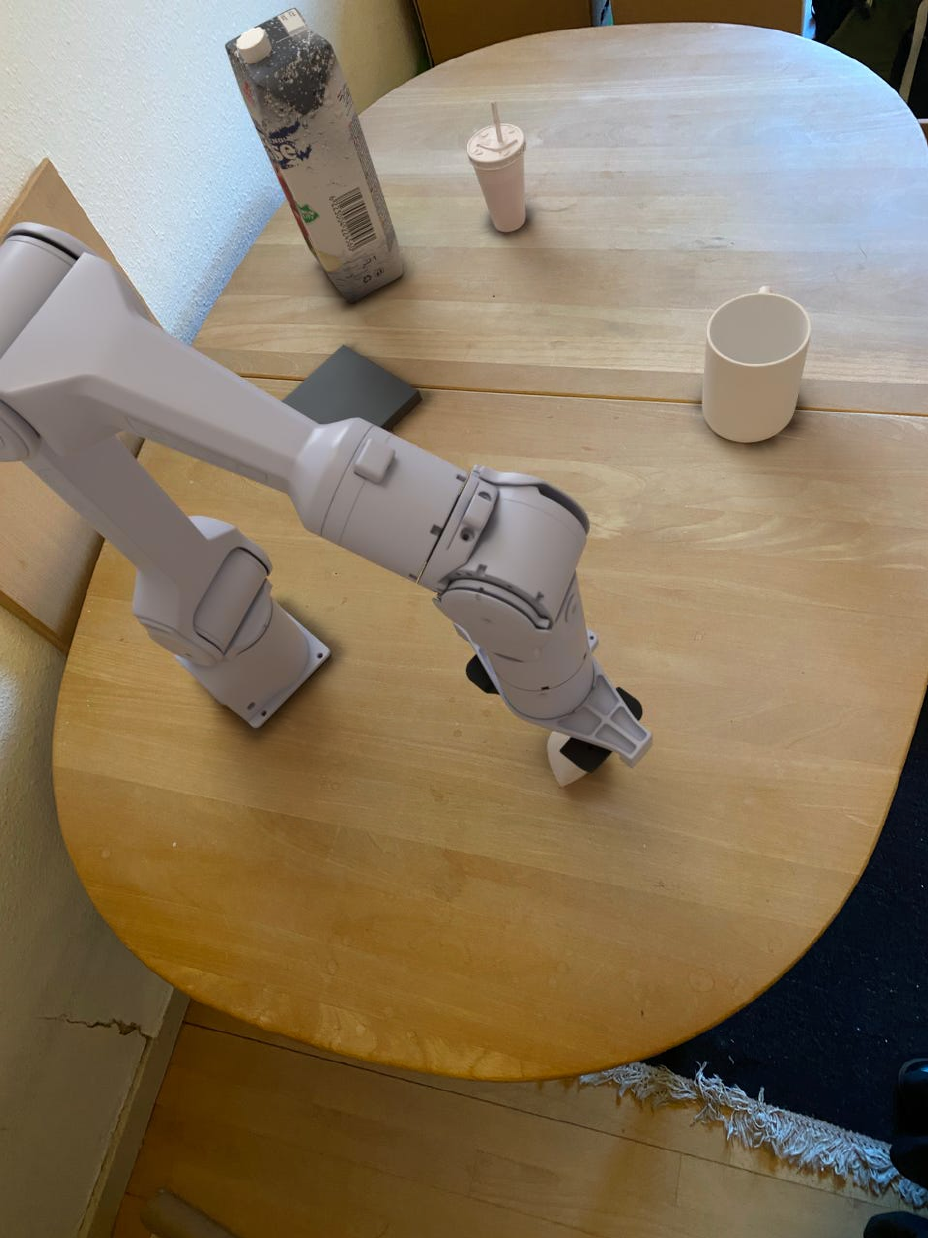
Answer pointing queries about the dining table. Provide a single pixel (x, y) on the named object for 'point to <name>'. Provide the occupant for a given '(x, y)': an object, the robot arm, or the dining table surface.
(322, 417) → the scale
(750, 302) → the cup
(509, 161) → the smoothie
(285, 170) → the juice carton
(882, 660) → the dining table surface
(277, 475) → the robot arm
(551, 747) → the beige rounded teardrop
